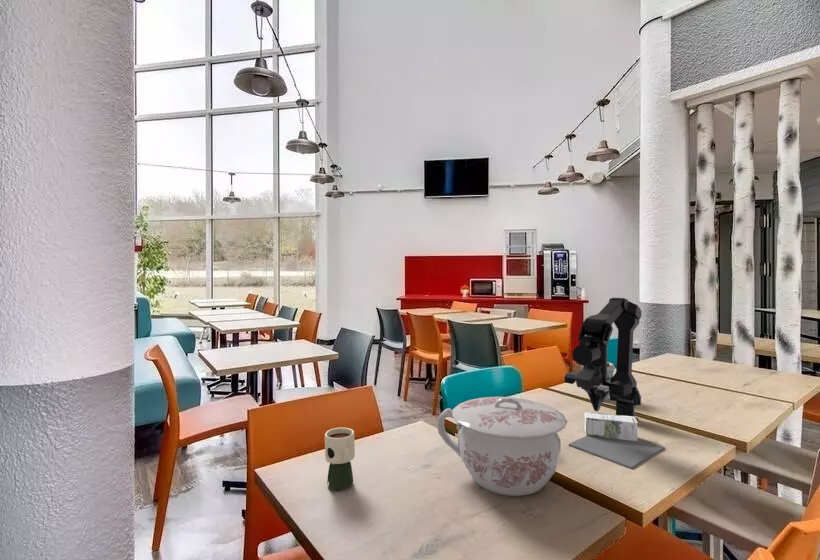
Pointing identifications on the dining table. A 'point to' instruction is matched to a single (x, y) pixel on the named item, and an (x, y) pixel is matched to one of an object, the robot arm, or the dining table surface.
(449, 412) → the chamber pot
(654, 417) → the dining table surface
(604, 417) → the syrup box
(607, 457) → the mat
